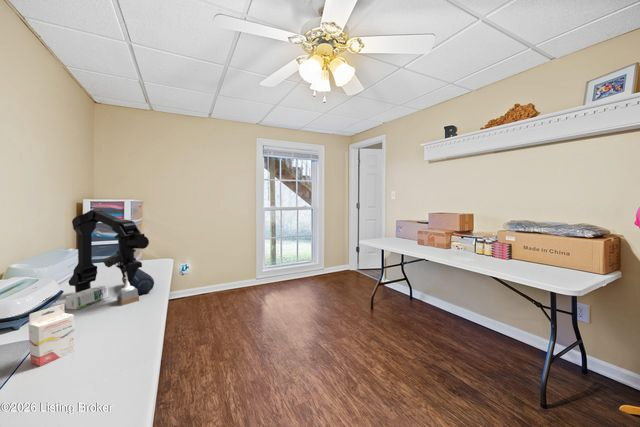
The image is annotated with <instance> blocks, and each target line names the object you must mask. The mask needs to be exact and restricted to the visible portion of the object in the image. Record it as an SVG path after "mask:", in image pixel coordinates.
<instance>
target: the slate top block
mask: <svg viewBox="0 0 640 427" xmlns="http://www.w3.org/2000/svg"><path fill="white" fill-rule="evenodd" d="M121 289H122V288H120V289H118V290H117V291H118V292H117V294H118V296H119V297H120V298H121V299H126V298H130V297H134V296H138V295H139V294H138V289H137V288H135V287H134V289H133V290H130V291H121Z"/></svg>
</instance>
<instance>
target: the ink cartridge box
mask: <svg viewBox="0 0 640 427" xmlns="http://www.w3.org/2000/svg"><path fill="white" fill-rule="evenodd" d="M65 307H66V304H63V303H62V304H59V305H55V306H52V307H48V308H44V309H42V310H38V311H35V312H31V313H29V315H28V322H29V323H28V338H29V340H28V341H29V356H30V357H29V359H30V364H33V365H36V366H38V367H42V366H43V365H47V364H48V363H51V362H53V361H56V360H57V359H60V358H62V357H64V356H66V355H69V354H71V353H74V352H75V351H76V332H75V315H74V314H71V313H66V312H65ZM47 312H50V313H48V314H46V313H47Z"/></svg>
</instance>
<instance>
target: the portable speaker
mask: <svg viewBox="0 0 640 427" xmlns="http://www.w3.org/2000/svg"><path fill="white" fill-rule="evenodd" d="M121 278H122V279H121V280H122V281H121V282H122V283H123V285H125V284H126V280H124V277H123V276H122V277H121ZM129 284H130V285H131V286H133V287H135V288H137V289H138V295H145V294H147V293H149V292H151V291H152V290H153V289H154V286H155V280H154V278H153V277H152V275H150V274H148V273H147V272H145V271H144V270H142V269H140V268H138V270H137V271H136V273H135V275H134V277H133V280H132V282H129Z"/></svg>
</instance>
